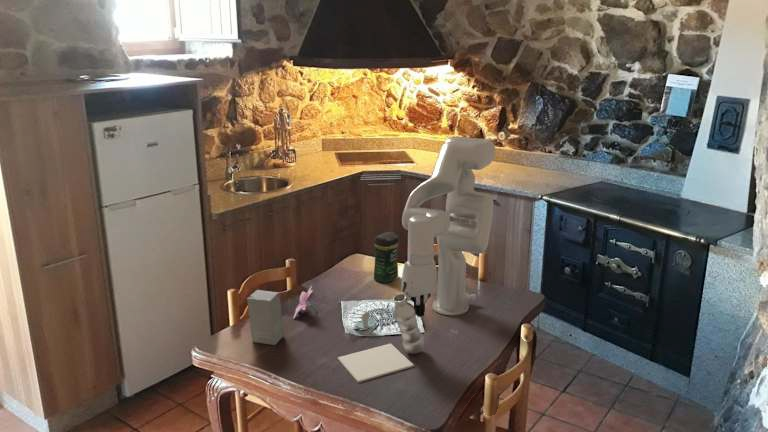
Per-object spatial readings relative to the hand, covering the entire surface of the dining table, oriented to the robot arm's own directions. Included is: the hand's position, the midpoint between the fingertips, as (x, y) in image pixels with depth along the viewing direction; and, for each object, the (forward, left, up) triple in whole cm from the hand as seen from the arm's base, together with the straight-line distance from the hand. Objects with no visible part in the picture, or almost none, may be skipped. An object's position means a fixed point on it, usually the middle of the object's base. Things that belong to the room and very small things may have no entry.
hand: (419, 314), depth 183 cm
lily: (+22, -40, -13) cm, 47 cm away
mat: (+15, 0, -12) cm, 19 cm away
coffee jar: (-17, -53, -13) cm, 57 cm away
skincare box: (+39, -28, -13) cm, 49 cm away
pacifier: (+8, -21, -13) cm, 26 cm away
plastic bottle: (+1, 0, -12) cm, 12 cm away
